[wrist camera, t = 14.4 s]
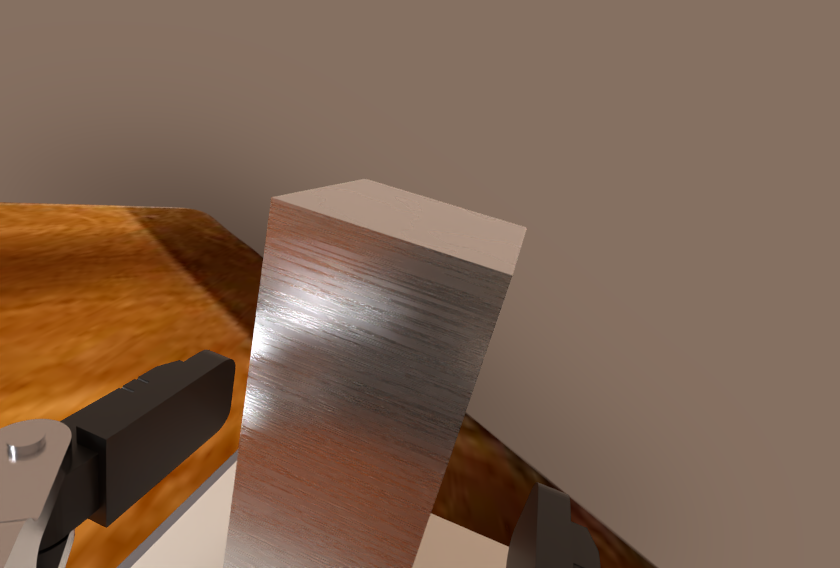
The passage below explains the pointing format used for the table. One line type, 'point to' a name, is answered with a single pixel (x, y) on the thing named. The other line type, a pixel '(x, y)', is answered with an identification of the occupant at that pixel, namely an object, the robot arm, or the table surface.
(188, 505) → the socket block
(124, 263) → the table surface
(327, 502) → the steel peg
